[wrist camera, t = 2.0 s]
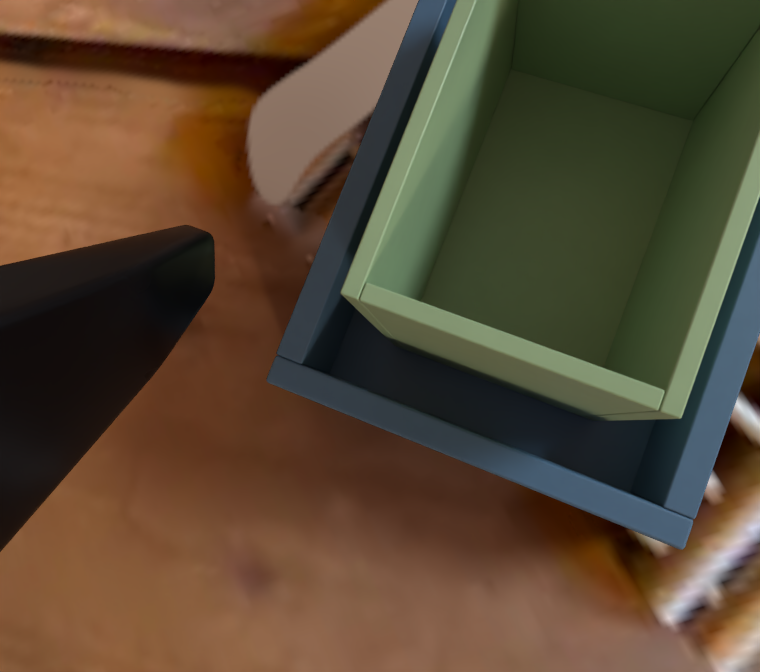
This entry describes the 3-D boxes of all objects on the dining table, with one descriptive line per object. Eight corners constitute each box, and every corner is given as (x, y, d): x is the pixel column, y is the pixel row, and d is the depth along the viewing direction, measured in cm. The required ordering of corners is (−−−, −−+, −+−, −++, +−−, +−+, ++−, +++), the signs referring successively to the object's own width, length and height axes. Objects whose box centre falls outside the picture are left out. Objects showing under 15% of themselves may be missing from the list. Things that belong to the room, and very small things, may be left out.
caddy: (594, 421, 20) (681, 419, 11) (393, 345, 21) (338, 293, 13) (703, 122, 20) (859, -85, 12) (502, 65, 22) (519, -159, 13)
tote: (643, 526, 20) (684, 551, 16) (302, 388, 22) (264, 381, 18) (799, 82, 21) (875, 3, 17) (460, -8, 23) (457, -98, 19)
